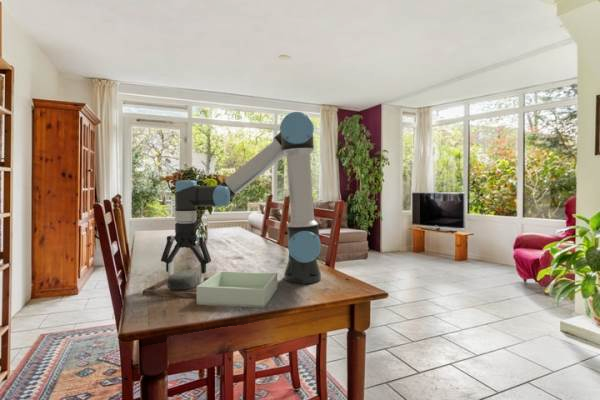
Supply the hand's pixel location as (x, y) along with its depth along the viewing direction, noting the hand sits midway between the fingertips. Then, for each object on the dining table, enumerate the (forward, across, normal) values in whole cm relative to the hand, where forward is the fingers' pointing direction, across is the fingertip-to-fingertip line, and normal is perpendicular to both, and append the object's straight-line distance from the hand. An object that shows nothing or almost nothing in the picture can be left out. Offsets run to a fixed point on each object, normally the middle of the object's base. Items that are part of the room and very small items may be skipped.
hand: (186, 281), depth 127 cm
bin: (+3, -22, +6) cm, 23 cm away
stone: (+3, +1, +1) cm, 3 cm away
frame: (+3, 0, 0) cm, 3 cm away
